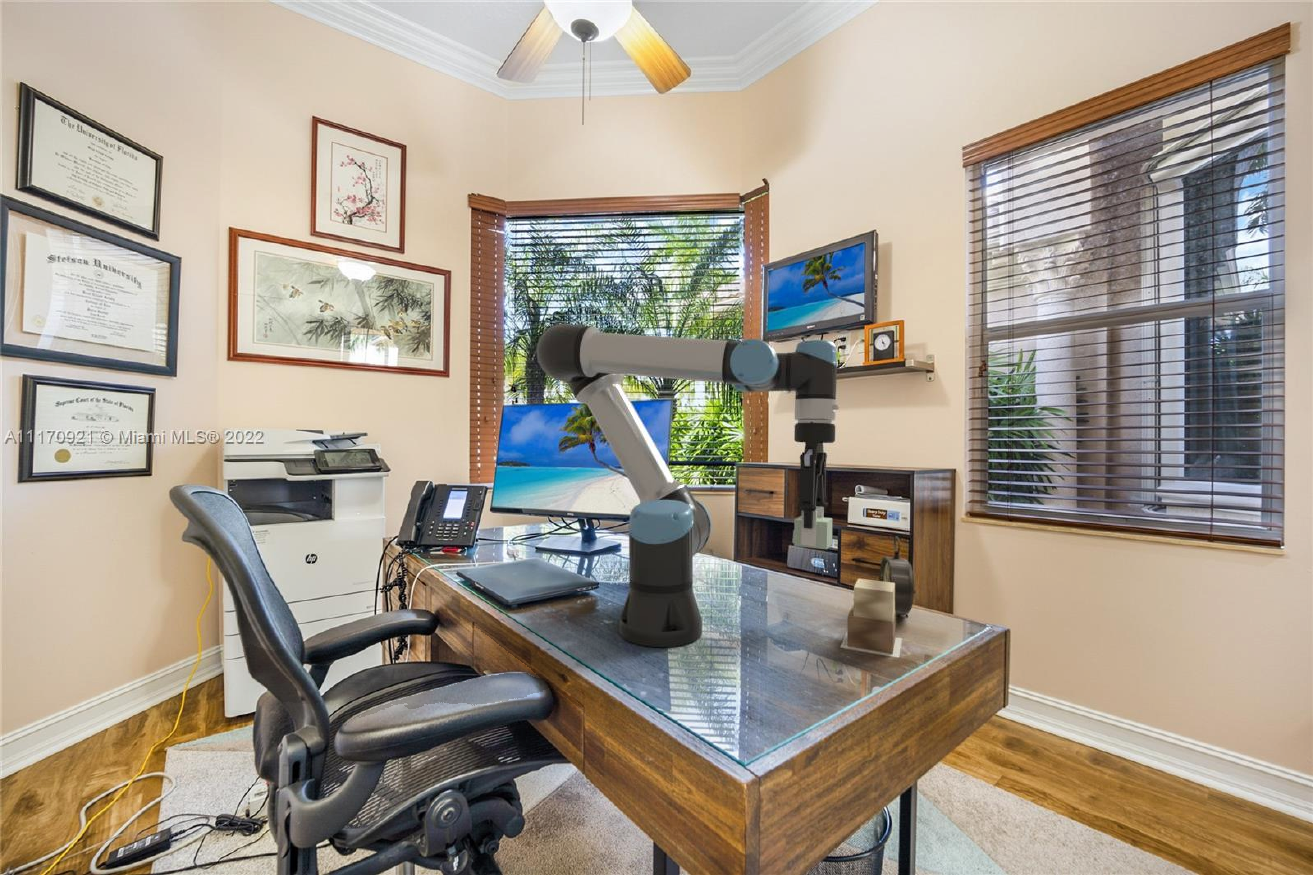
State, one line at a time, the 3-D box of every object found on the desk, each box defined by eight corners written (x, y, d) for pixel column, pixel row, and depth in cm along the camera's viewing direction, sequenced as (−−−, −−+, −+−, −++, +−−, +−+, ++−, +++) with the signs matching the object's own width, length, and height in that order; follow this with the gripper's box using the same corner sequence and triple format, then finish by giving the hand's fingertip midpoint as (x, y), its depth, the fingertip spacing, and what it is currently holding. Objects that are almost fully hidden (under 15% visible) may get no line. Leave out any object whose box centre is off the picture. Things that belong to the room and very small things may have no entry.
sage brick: (794, 545, 101) (794, 519, 101) (800, 540, 106) (801, 515, 106) (826, 549, 98) (827, 522, 98) (832, 543, 103) (832, 518, 103)
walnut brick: (847, 646, 89) (847, 616, 89) (852, 632, 95) (853, 604, 95) (892, 654, 86) (892, 623, 86) (895, 639, 92) (895, 610, 92)
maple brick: (853, 616, 89) (853, 587, 89) (858, 606, 95) (858, 578, 94) (892, 622, 86) (892, 592, 86) (894, 611, 92) (895, 582, 92)
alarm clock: (877, 608, 110) (877, 531, 110) (905, 610, 109) (905, 532, 109) (887, 627, 100) (888, 541, 100) (918, 629, 99) (919, 542, 98)
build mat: (840, 650, 89) (840, 647, 89) (847, 632, 97) (847, 629, 97) (899, 661, 85) (899, 657, 85) (902, 641, 93) (902, 638, 93)
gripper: (826, 420, 92) (823, 554, 92) (842, 423, 109) (840, 536, 109) (783, 420, 95) (780, 549, 95) (805, 423, 112) (803, 532, 112)
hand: (812, 541), depth 102 cm, fingers closed on sage brick, 6 cm apart
